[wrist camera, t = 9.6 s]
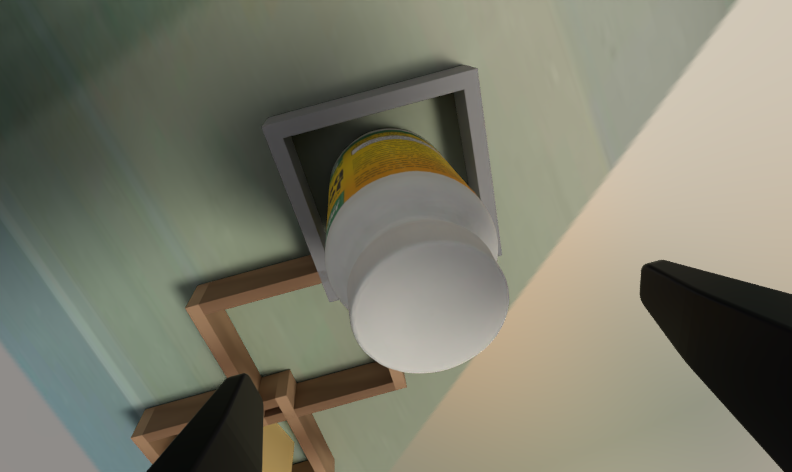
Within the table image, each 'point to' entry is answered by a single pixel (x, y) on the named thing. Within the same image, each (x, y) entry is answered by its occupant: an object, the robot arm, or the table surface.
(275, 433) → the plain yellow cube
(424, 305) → the supplement bottle
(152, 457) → the frame
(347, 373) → the frame
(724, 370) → the robot arm
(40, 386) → the table surface
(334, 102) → the frame
